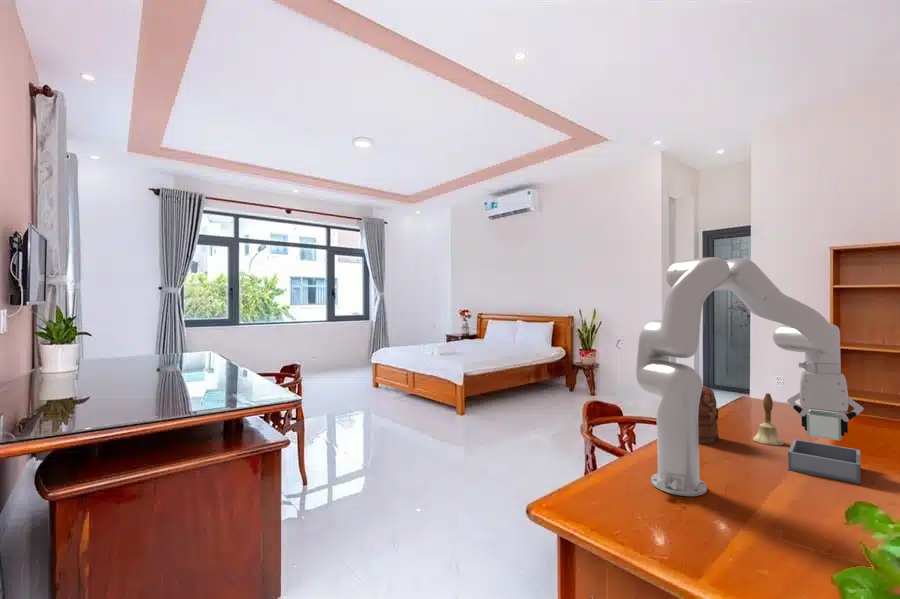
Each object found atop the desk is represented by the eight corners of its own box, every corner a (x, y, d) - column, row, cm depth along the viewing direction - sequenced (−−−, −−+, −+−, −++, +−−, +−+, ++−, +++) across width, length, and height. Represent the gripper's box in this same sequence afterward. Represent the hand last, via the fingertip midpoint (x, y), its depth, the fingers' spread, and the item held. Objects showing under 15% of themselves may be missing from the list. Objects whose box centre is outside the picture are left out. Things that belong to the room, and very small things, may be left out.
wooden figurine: (707, 445, 141) (706, 390, 141) (687, 441, 146) (686, 387, 146) (722, 438, 148) (721, 385, 148) (702, 433, 153) (701, 383, 153)
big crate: (860, 484, 110) (860, 465, 110) (788, 469, 120) (788, 452, 120) (860, 467, 121) (860, 449, 121) (793, 455, 131) (793, 439, 131)
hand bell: (773, 437, 148) (772, 390, 148) (789, 445, 140) (788, 396, 140) (747, 437, 149) (746, 390, 149) (762, 445, 140) (761, 396, 140)
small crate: (841, 440, 116) (840, 418, 116) (807, 435, 121) (806, 414, 121) (841, 434, 121) (841, 413, 121) (809, 429, 126) (808, 409, 126)
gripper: (782, 367, 124) (783, 429, 124) (866, 373, 112) (867, 442, 112) (785, 364, 129) (786, 423, 129) (865, 369, 118) (867, 434, 118)
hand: (824, 431), depth 121 cm, fingers closed on small crate, 7 cm apart
